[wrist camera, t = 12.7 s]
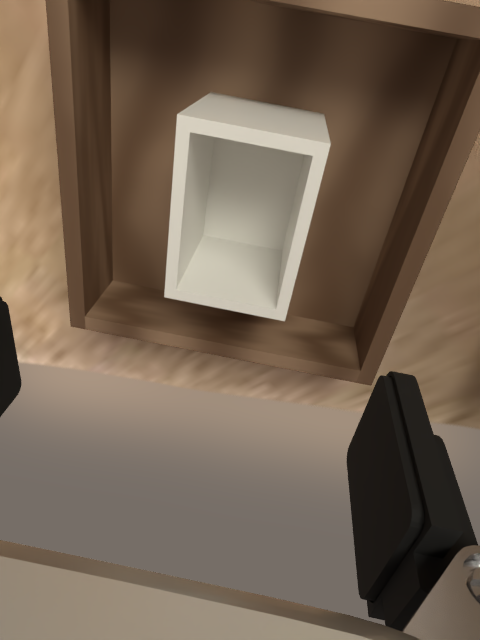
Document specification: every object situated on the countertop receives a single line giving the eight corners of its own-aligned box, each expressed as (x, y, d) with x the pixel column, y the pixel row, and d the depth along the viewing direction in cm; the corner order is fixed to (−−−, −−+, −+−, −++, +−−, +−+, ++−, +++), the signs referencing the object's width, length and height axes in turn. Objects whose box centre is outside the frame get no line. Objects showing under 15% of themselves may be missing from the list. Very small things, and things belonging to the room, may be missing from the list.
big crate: (479, 19, 23) (528, 15, 18) (361, 333, 34) (371, 385, 29) (97, -50, 23) (40, -73, 18) (105, 283, 34) (70, 326, 29)
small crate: (324, 113, 25) (330, 143, 18) (289, 256, 30) (285, 321, 23) (211, 92, 25) (177, 114, 18) (195, 238, 30) (164, 297, 23)
